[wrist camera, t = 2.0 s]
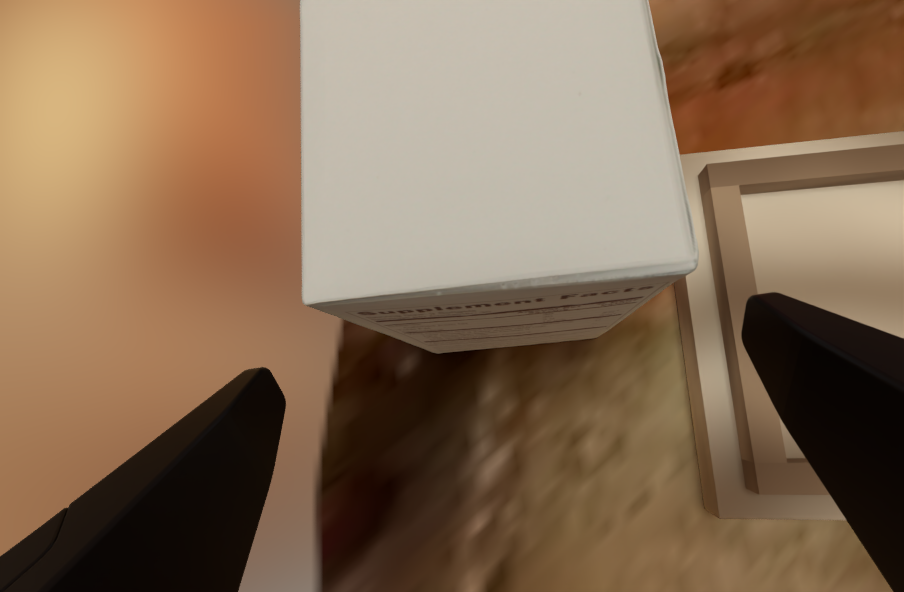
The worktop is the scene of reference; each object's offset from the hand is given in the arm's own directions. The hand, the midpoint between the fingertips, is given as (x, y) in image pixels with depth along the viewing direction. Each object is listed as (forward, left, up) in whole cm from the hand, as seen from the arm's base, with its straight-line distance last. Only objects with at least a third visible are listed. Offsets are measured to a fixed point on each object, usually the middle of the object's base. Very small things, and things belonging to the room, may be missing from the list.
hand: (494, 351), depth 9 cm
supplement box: (+5, 0, -12) cm, 13 cm away
